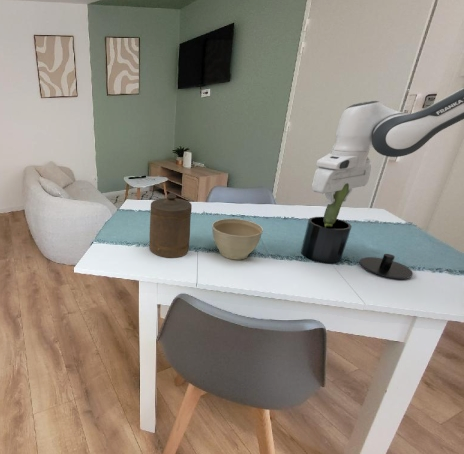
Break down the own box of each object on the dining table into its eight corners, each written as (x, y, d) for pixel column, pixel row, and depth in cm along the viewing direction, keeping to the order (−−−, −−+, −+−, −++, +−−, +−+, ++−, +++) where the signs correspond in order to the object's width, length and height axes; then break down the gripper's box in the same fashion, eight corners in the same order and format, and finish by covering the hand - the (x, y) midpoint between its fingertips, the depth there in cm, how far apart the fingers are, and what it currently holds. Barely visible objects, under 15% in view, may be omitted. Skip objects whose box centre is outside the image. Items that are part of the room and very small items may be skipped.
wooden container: (183, 239, 118) (187, 187, 110) (193, 257, 105) (197, 199, 96) (147, 240, 119) (147, 189, 110) (152, 258, 105) (153, 201, 97)
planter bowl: (248, 244, 112) (252, 217, 108) (265, 265, 97) (271, 236, 93) (205, 244, 114) (208, 218, 110) (215, 265, 99) (219, 236, 95)
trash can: (349, 259, 98) (360, 226, 93) (324, 266, 95) (334, 232, 90) (316, 246, 108) (325, 214, 103) (293, 251, 105) (300, 219, 100)
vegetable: (320, 223, 100) (335, 165, 92) (336, 225, 98) (353, 166, 90) (321, 228, 96) (337, 168, 89) (338, 230, 94) (355, 168, 87)
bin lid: (421, 275, 88) (428, 260, 86) (394, 284, 85) (400, 269, 83) (375, 257, 99) (379, 243, 97) (349, 264, 96) (353, 250, 94)
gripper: (359, 154, 94) (347, 195, 100) (312, 161, 88) (303, 204, 94) (382, 157, 89) (368, 200, 94) (333, 164, 83) (322, 210, 88)
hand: (335, 202), depth 94 cm, fingers closed on vegetable, 4 cm apart
